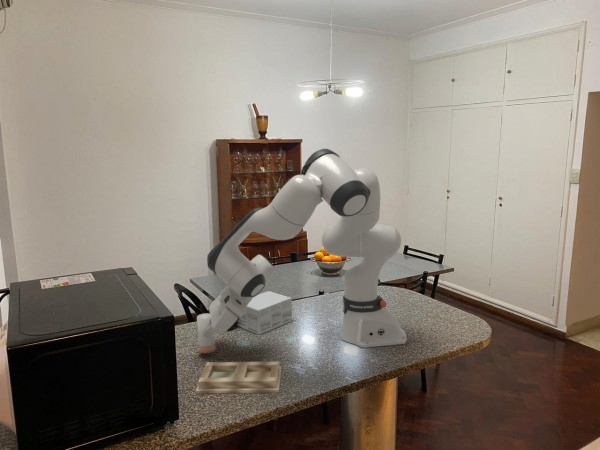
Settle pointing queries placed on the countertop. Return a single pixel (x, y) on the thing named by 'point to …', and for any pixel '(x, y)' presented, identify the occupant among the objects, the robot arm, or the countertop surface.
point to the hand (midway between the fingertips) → (203, 331)
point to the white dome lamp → (203, 343)
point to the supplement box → (266, 312)
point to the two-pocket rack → (240, 377)
